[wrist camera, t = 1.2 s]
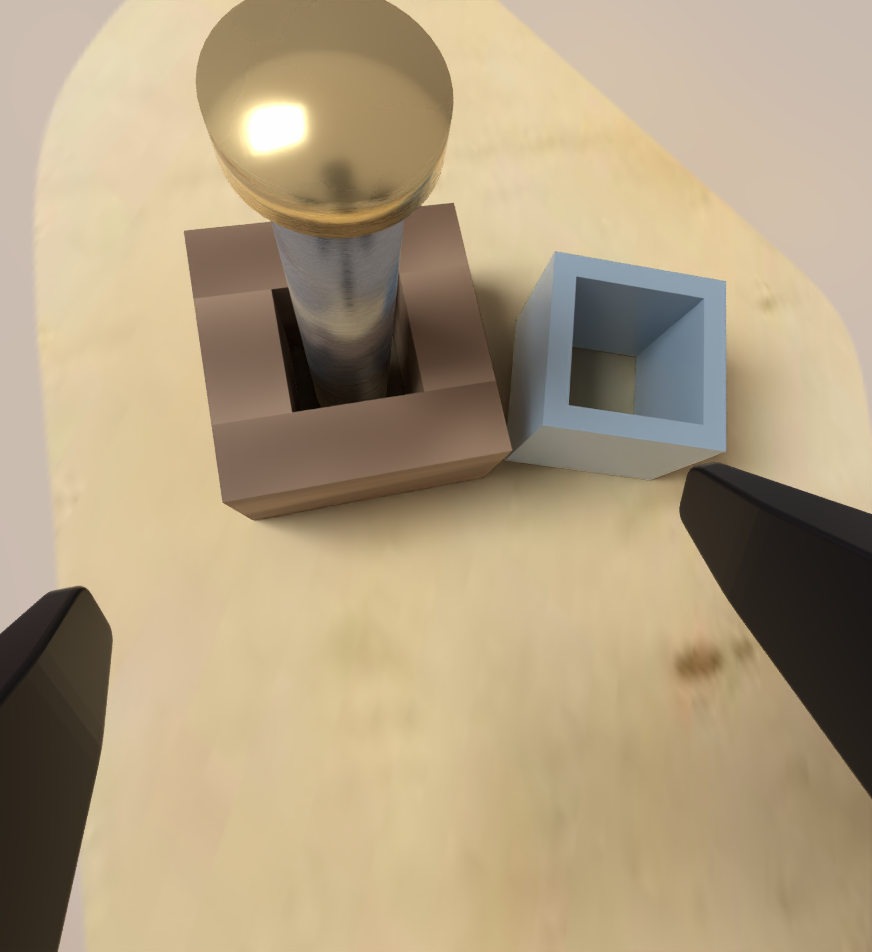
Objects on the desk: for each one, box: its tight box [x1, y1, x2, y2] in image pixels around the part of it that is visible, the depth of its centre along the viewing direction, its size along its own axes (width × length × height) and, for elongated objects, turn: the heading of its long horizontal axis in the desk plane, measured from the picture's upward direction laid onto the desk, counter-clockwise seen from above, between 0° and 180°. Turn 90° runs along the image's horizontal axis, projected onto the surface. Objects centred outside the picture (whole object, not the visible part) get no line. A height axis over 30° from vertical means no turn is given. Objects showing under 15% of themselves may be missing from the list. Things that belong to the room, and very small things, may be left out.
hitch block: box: [184, 203, 512, 520], centre depth 20 cm, size 9×9×4 cm
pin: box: [196, 0, 453, 408], centre depth 15 cm, size 4×4×14 cm
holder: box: [505, 251, 726, 480], centre depth 21 cm, size 6×6×5 cm
